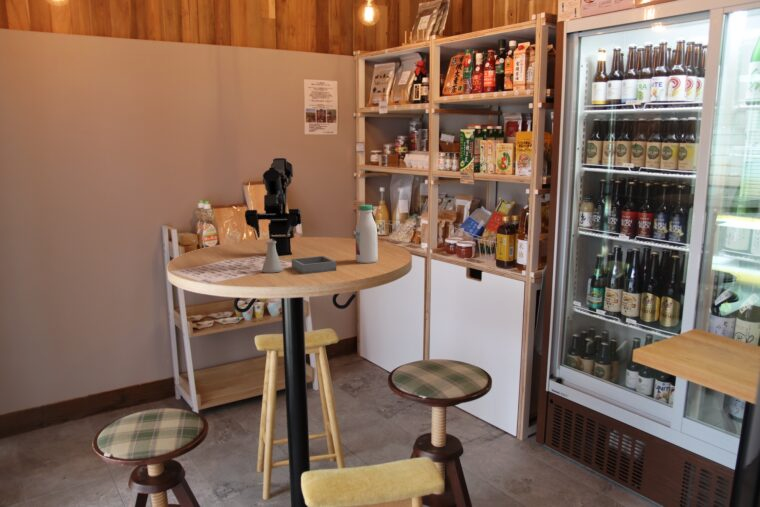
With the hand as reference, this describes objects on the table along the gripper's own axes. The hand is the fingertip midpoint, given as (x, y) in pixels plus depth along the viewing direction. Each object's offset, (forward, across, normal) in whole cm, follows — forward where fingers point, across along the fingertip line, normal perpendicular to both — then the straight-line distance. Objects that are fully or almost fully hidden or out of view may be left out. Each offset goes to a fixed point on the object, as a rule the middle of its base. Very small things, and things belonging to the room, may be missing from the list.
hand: (272, 236), depth 205 cm
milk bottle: (+2, +32, +14) cm, 35 cm away
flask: (+11, 0, +5) cm, 12 cm away
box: (+10, +14, +6) cm, 18 cm away
